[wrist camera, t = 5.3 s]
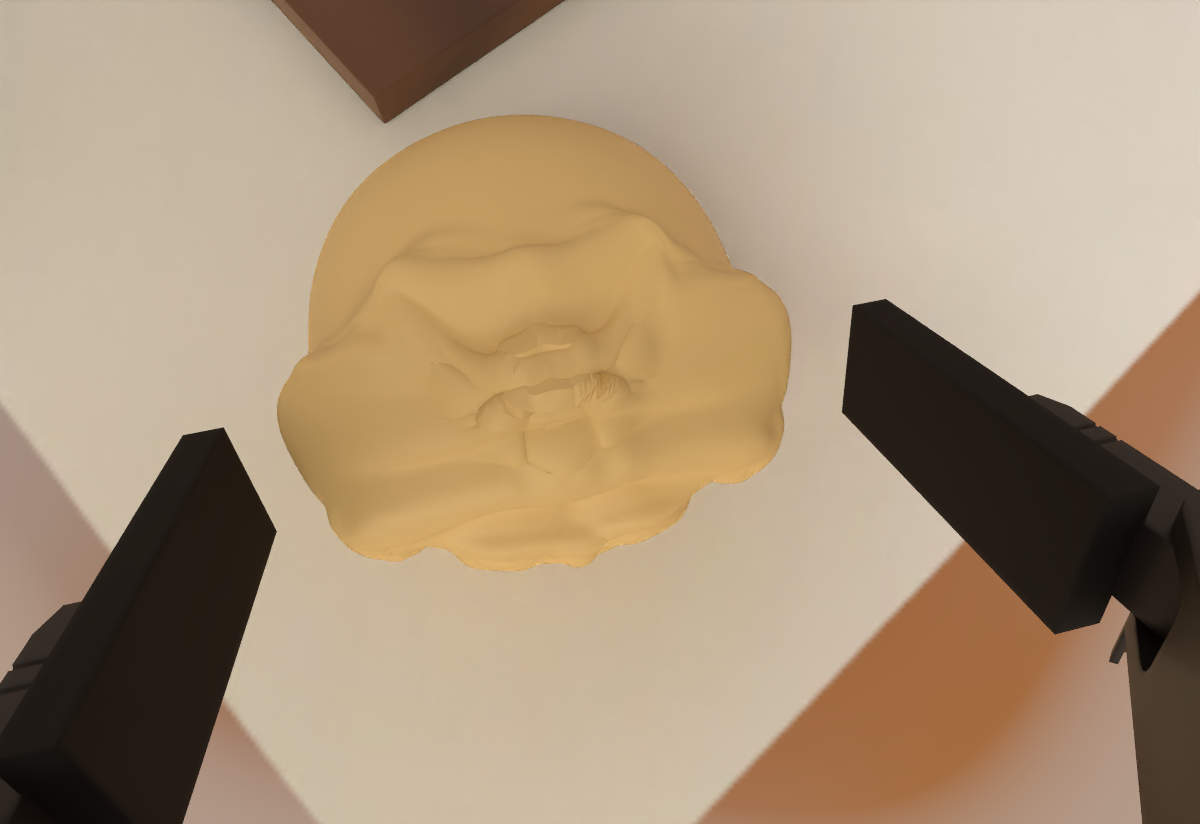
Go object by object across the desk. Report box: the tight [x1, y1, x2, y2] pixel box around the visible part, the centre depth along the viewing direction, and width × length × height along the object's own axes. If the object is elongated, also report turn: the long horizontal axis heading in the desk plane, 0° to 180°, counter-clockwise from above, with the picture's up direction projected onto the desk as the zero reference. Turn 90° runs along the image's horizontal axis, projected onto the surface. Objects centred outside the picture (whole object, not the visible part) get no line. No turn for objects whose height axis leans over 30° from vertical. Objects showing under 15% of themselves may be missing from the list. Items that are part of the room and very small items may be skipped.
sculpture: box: [277, 115, 791, 571], centre depth 18 cm, size 11×12×11 cm
